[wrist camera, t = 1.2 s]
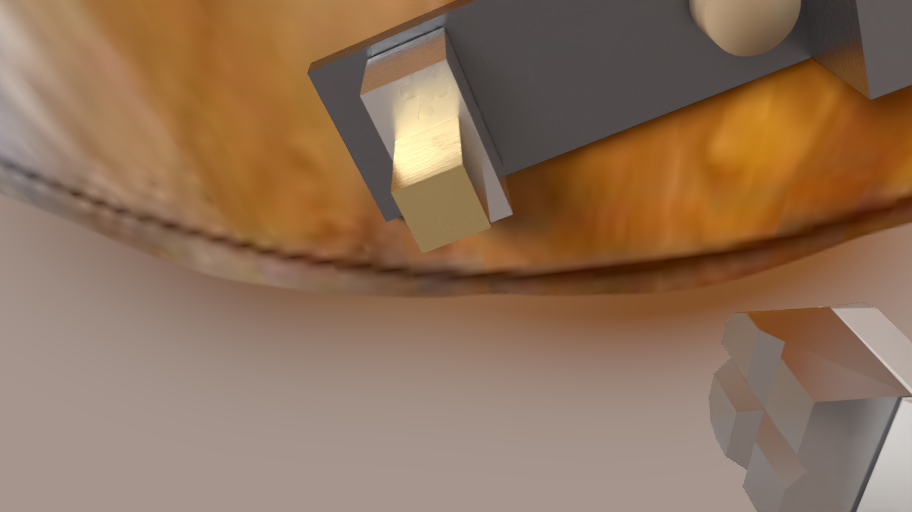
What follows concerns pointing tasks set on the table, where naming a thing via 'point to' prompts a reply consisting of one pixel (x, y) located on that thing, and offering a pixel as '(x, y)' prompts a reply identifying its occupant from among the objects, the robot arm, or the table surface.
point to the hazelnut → (745, 23)
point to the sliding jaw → (435, 142)
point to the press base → (602, 69)
